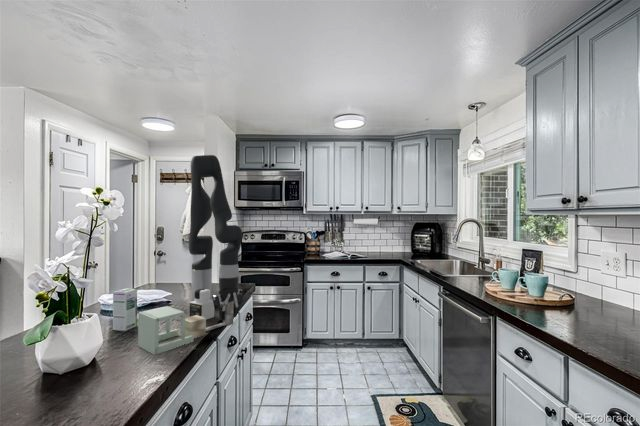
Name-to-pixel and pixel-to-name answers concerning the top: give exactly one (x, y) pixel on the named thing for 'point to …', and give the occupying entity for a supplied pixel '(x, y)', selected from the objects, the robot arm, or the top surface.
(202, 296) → the medicine bottle
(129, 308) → the syrup box
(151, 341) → the green windowed box
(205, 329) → the towed block
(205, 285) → the robot arm
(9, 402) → the top surface
